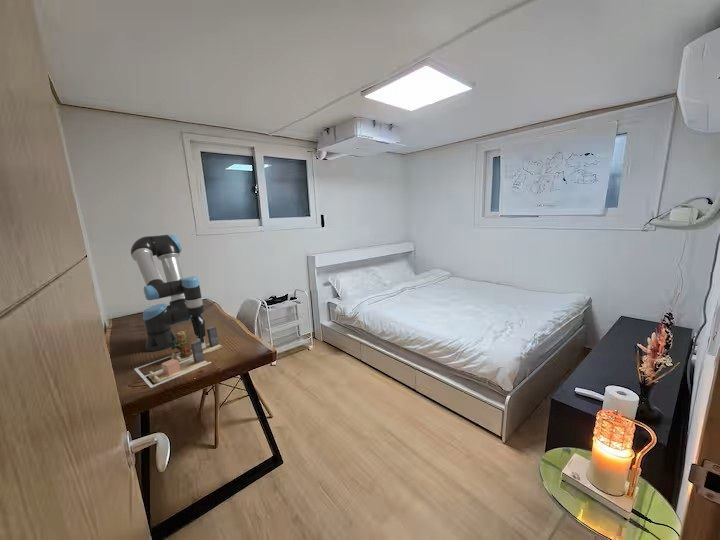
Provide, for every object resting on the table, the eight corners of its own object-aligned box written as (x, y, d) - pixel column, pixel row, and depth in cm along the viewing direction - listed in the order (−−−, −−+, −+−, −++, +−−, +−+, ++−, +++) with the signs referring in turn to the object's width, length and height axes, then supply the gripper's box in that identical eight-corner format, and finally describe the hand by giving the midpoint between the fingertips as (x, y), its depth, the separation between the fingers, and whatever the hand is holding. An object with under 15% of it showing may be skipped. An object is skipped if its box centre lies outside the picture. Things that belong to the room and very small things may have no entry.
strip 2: (170, 358, 150) (166, 339, 148) (213, 342, 166) (210, 324, 164) (178, 364, 143) (174, 344, 141) (222, 347, 159) (219, 328, 157)
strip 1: (148, 378, 132) (143, 356, 130) (199, 358, 148) (195, 338, 146) (156, 386, 125) (151, 363, 123) (208, 364, 141) (204, 343, 139)
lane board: (134, 371, 139) (133, 368, 139) (190, 350, 158) (190, 348, 158) (151, 390, 122) (150, 387, 122) (211, 364, 141) (211, 362, 141)
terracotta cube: (163, 373, 133) (161, 363, 132) (174, 368, 138) (172, 358, 137) (169, 376, 131) (167, 365, 130) (180, 370, 135) (178, 360, 134)
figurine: (194, 352, 154) (189, 326, 151) (193, 359, 148) (187, 331, 145) (174, 357, 151) (169, 330, 148) (172, 363, 144) (166, 336, 141)
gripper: (182, 306, 153) (190, 347, 158) (192, 310, 144) (200, 353, 149) (197, 302, 159) (204, 342, 163) (207, 306, 150) (215, 348, 154)
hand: (202, 347), depth 156 cm, fingers closed
